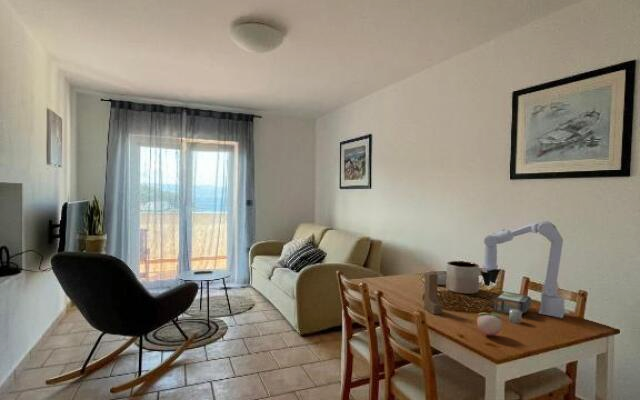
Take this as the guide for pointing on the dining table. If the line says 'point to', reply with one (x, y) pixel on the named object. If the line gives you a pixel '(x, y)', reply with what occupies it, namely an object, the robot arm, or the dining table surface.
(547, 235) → the robot arm
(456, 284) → the planter
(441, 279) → the tin
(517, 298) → the trapdoor
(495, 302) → the trapdoor frame
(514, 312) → the stone
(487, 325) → the decorative fruit
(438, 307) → the grey upright bracket
